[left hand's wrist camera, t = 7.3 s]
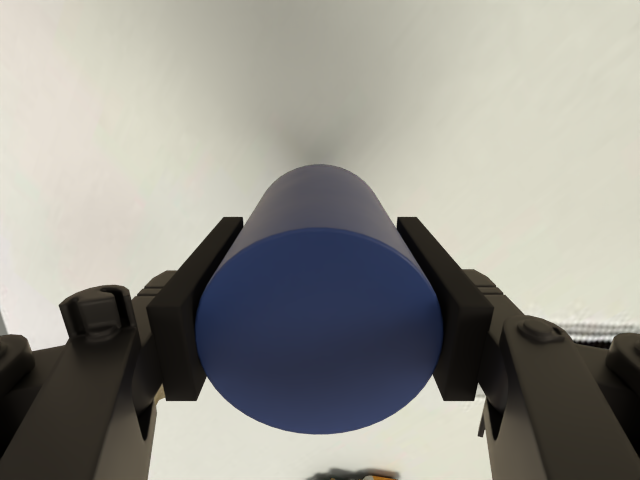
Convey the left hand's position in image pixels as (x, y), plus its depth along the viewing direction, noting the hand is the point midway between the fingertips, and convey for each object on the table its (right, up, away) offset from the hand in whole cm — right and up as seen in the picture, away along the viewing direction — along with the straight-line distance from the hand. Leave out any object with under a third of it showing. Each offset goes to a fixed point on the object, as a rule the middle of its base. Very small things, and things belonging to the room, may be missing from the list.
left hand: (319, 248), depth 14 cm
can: (0, +1, +2) cm, 3 cm away
